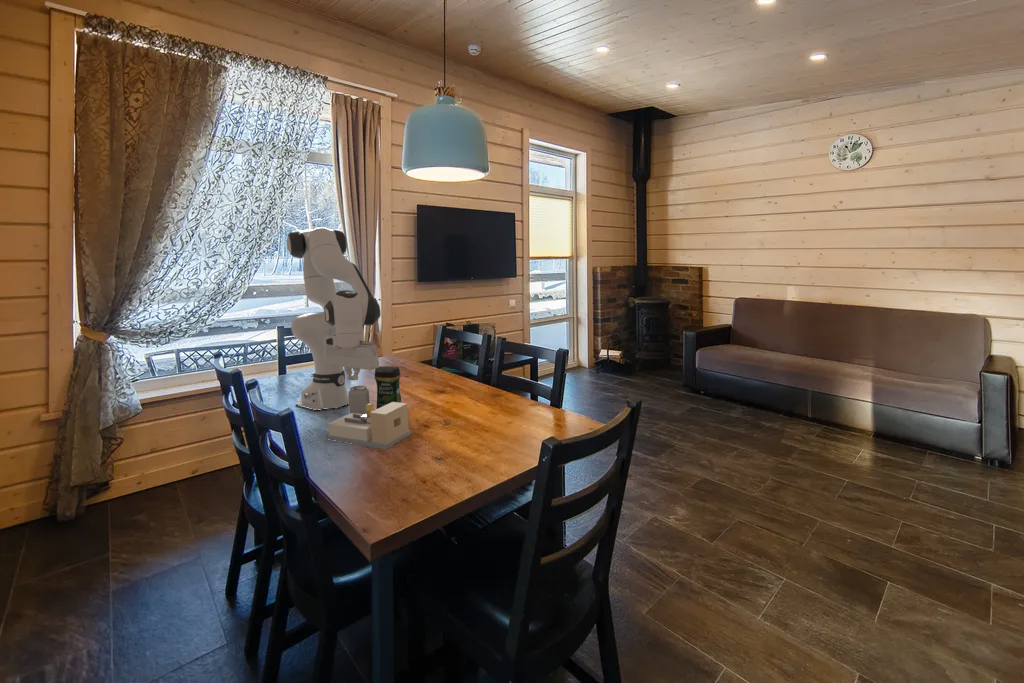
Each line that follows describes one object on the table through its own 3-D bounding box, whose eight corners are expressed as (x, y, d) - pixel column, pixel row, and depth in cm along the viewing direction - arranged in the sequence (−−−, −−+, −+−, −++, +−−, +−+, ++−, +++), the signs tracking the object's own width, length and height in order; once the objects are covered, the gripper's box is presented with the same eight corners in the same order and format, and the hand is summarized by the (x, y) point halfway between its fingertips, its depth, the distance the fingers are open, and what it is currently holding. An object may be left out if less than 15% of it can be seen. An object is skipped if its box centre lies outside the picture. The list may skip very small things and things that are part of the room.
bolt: (360, 421, 166) (359, 404, 165) (366, 419, 168) (365, 402, 167) (384, 425, 162) (383, 408, 161) (390, 422, 165) (389, 405, 164)
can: (349, 415, 190) (347, 385, 188) (369, 413, 193) (367, 383, 191) (350, 421, 184) (348, 390, 181) (371, 418, 186) (369, 388, 184)
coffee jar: (374, 415, 191) (370, 368, 187) (381, 408, 198) (378, 364, 195) (398, 415, 189) (395, 369, 186) (404, 409, 197) (402, 364, 194)
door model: (327, 440, 166) (324, 407, 163) (355, 426, 178) (352, 396, 176) (385, 449, 156) (383, 415, 154) (410, 434, 169) (408, 402, 167)
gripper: (381, 340, 162) (384, 380, 165) (333, 336, 170) (336, 374, 173) (369, 344, 156) (372, 385, 159) (319, 339, 164) (323, 379, 167)
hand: (353, 379), depth 166 cm, fingers closed
